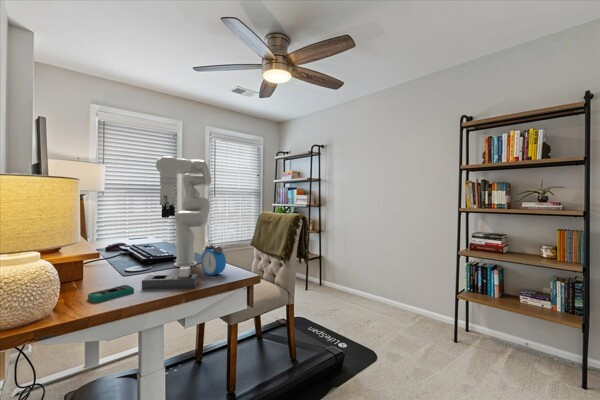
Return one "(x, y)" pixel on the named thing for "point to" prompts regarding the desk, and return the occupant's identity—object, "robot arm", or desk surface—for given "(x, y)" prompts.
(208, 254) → the alarm clock
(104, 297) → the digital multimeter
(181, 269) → the white green box
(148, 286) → the rail
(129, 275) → the desk surface
